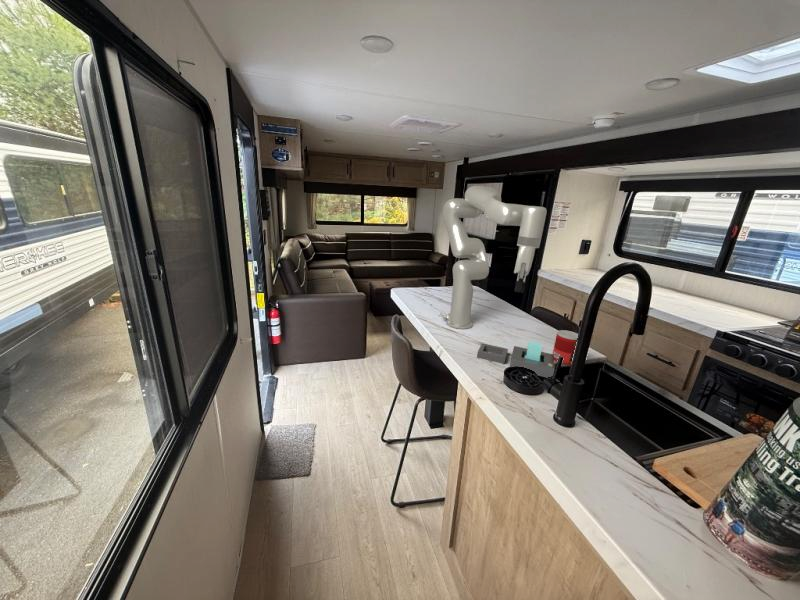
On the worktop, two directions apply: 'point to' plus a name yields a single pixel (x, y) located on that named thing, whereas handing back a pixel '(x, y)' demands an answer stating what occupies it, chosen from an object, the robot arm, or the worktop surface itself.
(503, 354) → the holster
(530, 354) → the plug
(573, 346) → the canned food
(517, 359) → the port
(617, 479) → the worktop surface
